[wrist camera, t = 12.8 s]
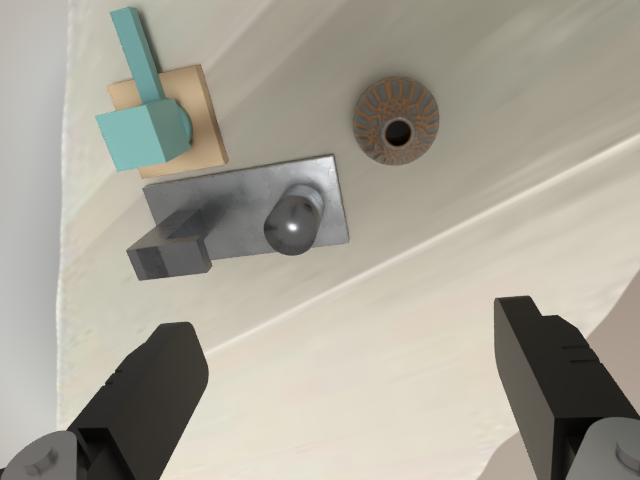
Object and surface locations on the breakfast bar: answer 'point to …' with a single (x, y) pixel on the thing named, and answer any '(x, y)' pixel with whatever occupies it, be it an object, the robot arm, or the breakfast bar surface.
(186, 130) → the teal block with handle
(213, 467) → the breakfast bar surface
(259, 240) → the post
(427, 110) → the vase
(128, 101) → the wooden coaster
